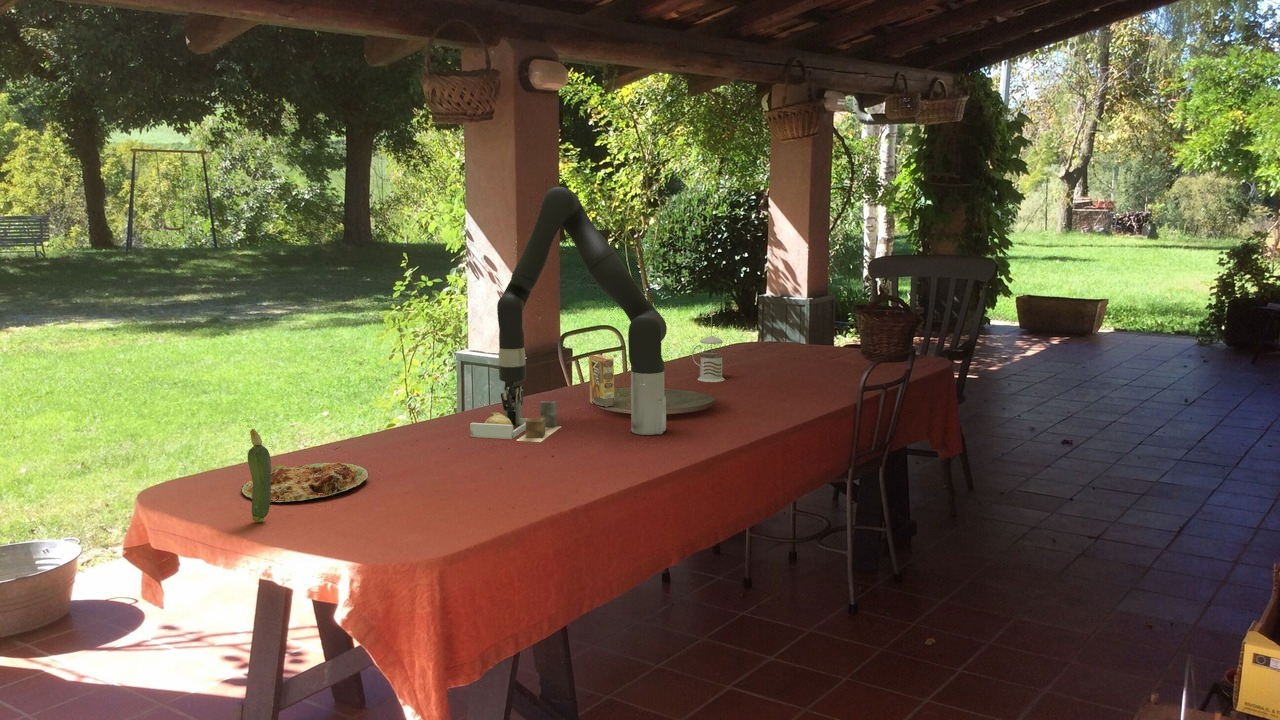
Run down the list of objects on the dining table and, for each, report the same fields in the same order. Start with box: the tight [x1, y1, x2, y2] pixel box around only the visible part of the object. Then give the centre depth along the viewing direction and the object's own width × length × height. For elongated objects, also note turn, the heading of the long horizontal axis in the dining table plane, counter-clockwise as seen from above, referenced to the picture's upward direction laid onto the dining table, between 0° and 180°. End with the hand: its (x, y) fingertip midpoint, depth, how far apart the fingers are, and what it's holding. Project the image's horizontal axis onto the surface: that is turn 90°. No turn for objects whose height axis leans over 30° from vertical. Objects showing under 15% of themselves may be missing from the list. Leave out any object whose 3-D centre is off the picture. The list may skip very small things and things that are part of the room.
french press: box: [691, 309, 726, 383], centre depth 360 cm, size 10×12×25 cm
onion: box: [484, 411, 512, 425], centre depth 278 cm, size 8×8×7 cm
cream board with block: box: [515, 400, 562, 443], centre depth 278 cm, size 7×19×8 cm, turn 167°
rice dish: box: [240, 461, 370, 503], centre depth 234 cm, size 28×28×5 cm
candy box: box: [588, 354, 615, 404], centre depth 319 cm, size 9×4×15 cm, turn 33°
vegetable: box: [246, 428, 272, 523], centre depth 207 cm, size 4×4×20 cm
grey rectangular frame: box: [469, 402, 529, 440], centre depth 282 cm, size 12×19×7 cm, turn 167°
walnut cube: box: [525, 417, 545, 438], centre depth 275 cm, size 4×4×4 cm
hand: (513, 423), depth 290 cm, fingers closed on grey rectangular frame, 2 cm apart
